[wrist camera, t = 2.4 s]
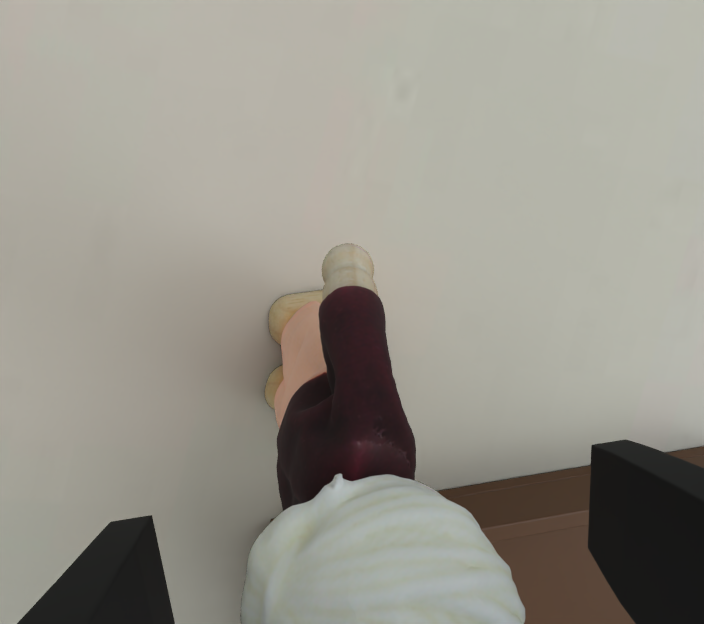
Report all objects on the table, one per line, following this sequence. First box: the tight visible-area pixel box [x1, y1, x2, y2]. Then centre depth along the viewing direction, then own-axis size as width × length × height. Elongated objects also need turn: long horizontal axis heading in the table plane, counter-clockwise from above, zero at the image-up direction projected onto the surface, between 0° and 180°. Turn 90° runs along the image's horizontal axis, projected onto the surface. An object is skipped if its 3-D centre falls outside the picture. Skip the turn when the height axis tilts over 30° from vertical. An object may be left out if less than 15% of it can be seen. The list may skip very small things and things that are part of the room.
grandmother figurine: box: [241, 244, 525, 624], centre depth 12 cm, size 8×4×13 cm, turn 4°
